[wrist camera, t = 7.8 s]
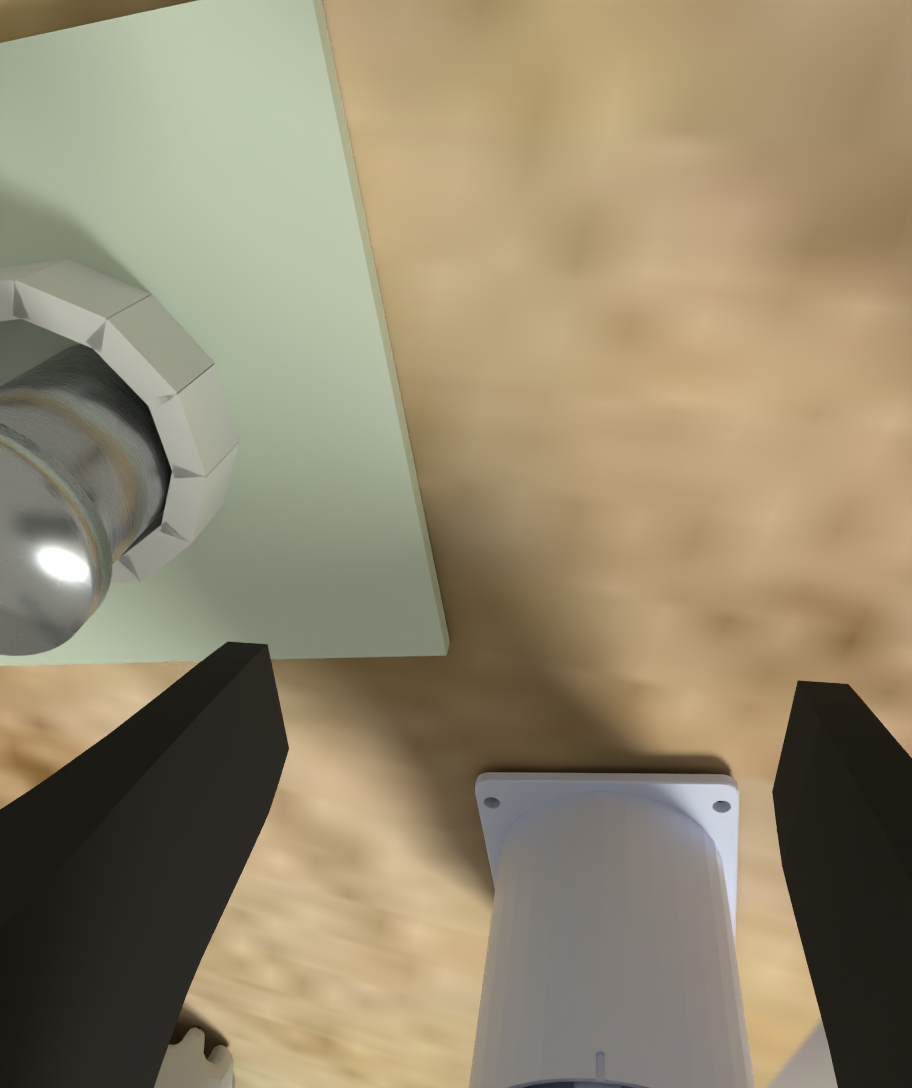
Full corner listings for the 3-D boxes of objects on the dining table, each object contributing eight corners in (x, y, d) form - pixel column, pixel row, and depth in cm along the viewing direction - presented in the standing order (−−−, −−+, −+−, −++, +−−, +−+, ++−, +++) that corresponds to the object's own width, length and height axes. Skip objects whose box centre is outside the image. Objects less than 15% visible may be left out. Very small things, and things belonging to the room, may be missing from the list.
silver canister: (141, 547, 23) (8, 692, 18) (-14, 410, 21) (-209, 526, 16) (257, 443, 20) (142, 576, 15) (92, 280, 19) (-96, 368, 14)
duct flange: (449, 642, 23) (433, 703, 21) (-20, 654, 27) (-75, 709, 25) (318, -21, 16) (270, -32, 13) (-326, 117, 19) (-448, 126, 17)
